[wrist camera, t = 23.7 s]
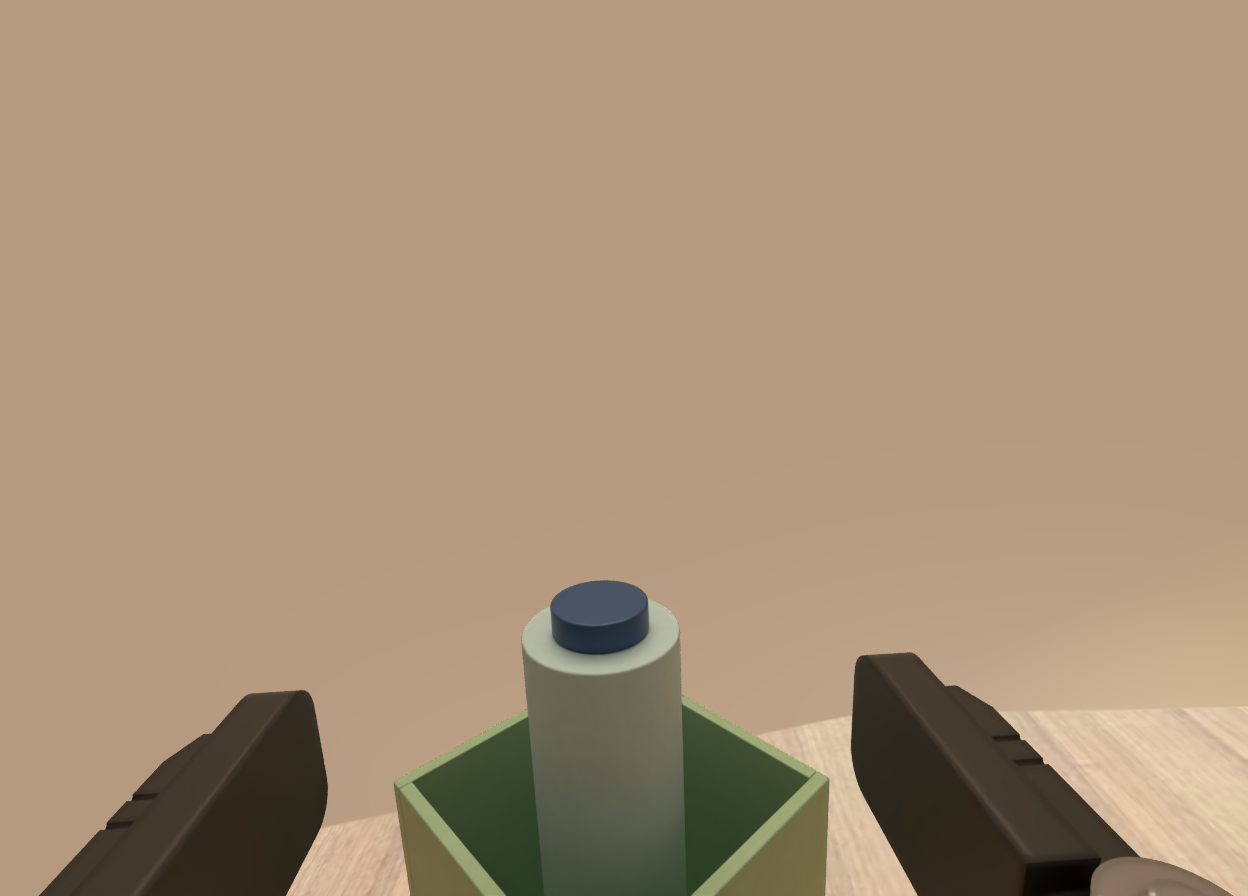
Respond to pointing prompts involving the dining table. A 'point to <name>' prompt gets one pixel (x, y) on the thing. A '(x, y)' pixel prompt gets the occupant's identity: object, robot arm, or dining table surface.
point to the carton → (713, 804)
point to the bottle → (607, 742)
